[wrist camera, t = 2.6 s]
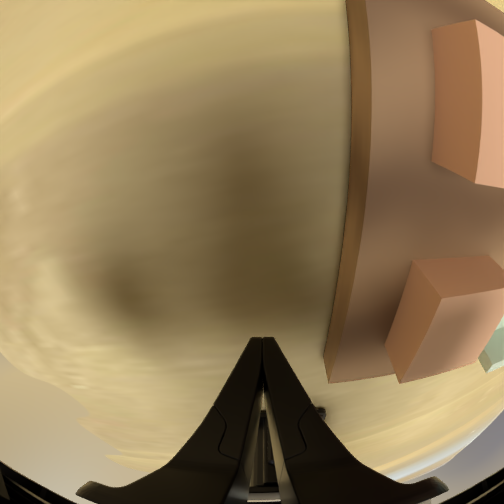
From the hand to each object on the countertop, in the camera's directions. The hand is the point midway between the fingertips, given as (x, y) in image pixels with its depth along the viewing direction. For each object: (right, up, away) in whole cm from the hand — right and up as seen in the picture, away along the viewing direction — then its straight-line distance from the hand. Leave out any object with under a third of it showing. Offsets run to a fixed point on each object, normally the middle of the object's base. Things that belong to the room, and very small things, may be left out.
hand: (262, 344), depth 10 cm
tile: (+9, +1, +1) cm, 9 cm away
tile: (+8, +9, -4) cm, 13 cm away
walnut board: (+9, +6, 0) cm, 11 cm away
